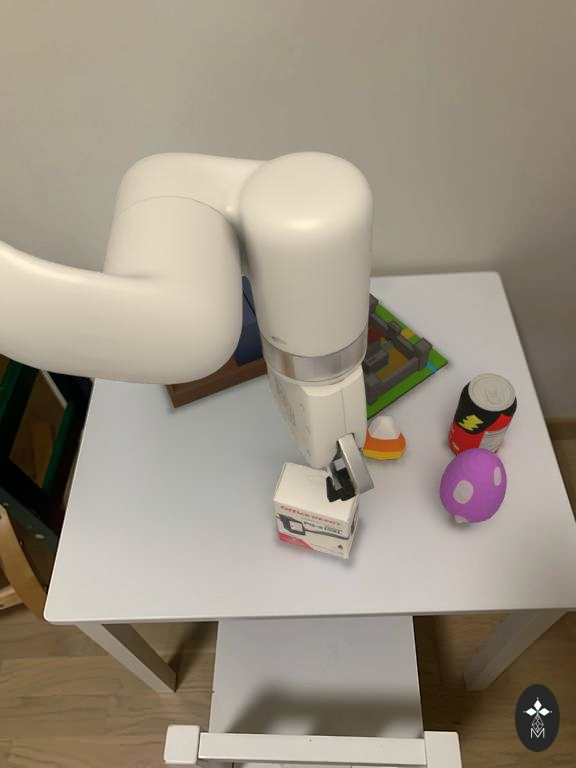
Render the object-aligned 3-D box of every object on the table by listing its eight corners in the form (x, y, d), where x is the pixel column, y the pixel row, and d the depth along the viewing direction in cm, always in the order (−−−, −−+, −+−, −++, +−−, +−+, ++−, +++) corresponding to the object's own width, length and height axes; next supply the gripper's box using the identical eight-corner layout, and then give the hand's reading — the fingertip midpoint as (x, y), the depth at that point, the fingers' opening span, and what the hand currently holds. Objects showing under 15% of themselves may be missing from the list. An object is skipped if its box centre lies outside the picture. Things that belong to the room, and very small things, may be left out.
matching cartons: (238, 367, 86) (229, 331, 79) (217, 324, 91) (208, 287, 84) (290, 347, 87) (286, 310, 80) (267, 306, 92) (262, 268, 85)
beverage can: (487, 419, 79) (508, 364, 69) (505, 461, 75) (530, 409, 65) (441, 427, 78) (455, 373, 69) (456, 469, 75) (474, 419, 65)
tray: (174, 408, 83) (170, 397, 81) (149, 341, 91) (144, 329, 88) (302, 359, 87) (301, 347, 84) (267, 298, 94) (266, 286, 92)
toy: (492, 546, 69) (525, 490, 57) (433, 545, 69) (454, 489, 57) (483, 493, 73) (513, 430, 60) (428, 492, 73) (446, 430, 61)
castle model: (299, 353, 87) (296, 319, 81) (376, 304, 92) (379, 268, 86) (367, 420, 80) (369, 389, 74) (447, 363, 84) (456, 329, 78)
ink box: (278, 541, 71) (269, 500, 61) (291, 504, 74) (284, 458, 64) (348, 561, 69) (349, 522, 59) (358, 522, 72) (362, 478, 62)
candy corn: (358, 459, 76) (359, 427, 70) (359, 439, 78) (361, 406, 72) (405, 463, 76) (411, 430, 69) (405, 442, 77) (411, 409, 71)
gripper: (222, 271, 46) (250, 395, 60) (316, 450, 36) (324, 548, 50) (311, 239, 47) (318, 369, 61) (425, 404, 37) (403, 513, 51)
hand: (321, 450), depth 55 cm, fingers open, 9 cm apart
